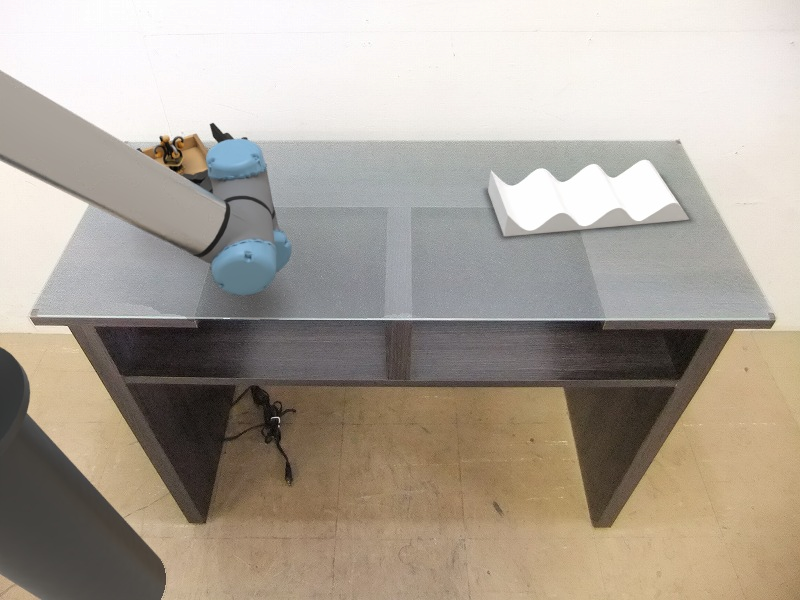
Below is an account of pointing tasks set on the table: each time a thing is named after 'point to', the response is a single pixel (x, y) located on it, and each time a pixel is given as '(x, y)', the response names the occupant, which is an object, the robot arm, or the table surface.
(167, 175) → the robot arm
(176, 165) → the gold potted plant ornament
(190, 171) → the tray
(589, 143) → the table surface
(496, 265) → the table surface
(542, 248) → the table surface
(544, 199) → the white wavy block
